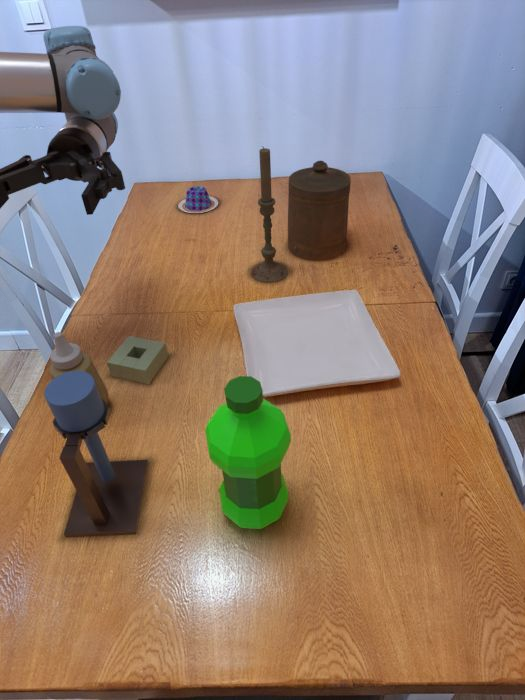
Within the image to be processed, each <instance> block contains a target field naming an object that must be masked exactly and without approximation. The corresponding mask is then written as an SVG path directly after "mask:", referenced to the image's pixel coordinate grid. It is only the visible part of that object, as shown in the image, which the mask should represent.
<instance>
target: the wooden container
mask: <svg viewBox="0 0 525 700" xmlns="http://www.w3.org/2000/svg"><path fill="white" fill-rule="evenodd" d="M351 183H352V178H351V175H349V174H348V173H347V172H345V171H344V170H342V169H339V168H335V167H329V165H328V164H327V162H325V161H324V160H316V161H315V162H313V164H312V166H310V167H304V168H301V169H298V170H296V171H293V172H292V173H291V174H290V175H289V177H288V194H287V195H288V199H287V200H288V201H287V249H288V251H289V253H291V254H292V256H294V257H295V258H298V259H301V260H305V261H310V262H323V261H324V262H325V261H330V260H334V259H336V258H338V257H340V256H341V255H343V254H344V253H345V251H346V247H347V235H348V226H349V225H348V224H349V205H350V203H349V202H350V193H351V186H352V185H351Z"/></svg>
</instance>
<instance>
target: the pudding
mask: <svg viewBox="0 0 525 700" xmlns="http://www.w3.org/2000/svg"><path fill="white" fill-rule="evenodd" d="M212 201H213V202H214V205H213V203H212ZM218 205H219V200H218V199H217V198H216V197H213V196H212V195H211V196H210V195H209V193H208V189H207V188H206V187H205V186H201V185H197V186H192V187H189V188H187V190H186V194H185V198H183V199H182V200H181V201H180V202H179V203H178V205H177V206H178V209H179V210H180V211H182V212H185V213H188V214H202V213H206V212H210V211H213V210H214V209H215V208H217V206H218ZM183 206H184V208H185V209H184V208H183ZM212 206H213V207H212ZM210 207H211V208H210ZM186 209H187V210H186ZM203 210H204V211H203Z"/></svg>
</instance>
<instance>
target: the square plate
mask: <svg viewBox="0 0 525 700" xmlns="http://www.w3.org/2000/svg"><path fill="white" fill-rule="evenodd" d="M232 309H233V314H234V318H235V322H236V325H237V329H238V333H239V338H240V342H241V346H242V347H241V348H242V351H243V359H244V366H245V374H246V375H245V376H251V377H253V378H255V379H256V380H258V381H259V382H260V384H261V387H262V392H263V398H264V397H265V398H267V397H274V396H282V395H287V394H288V395H289V394H293V393H299V392H305V391H314V390H321V389H328V388H336V387H345V386H346V387H347V386H355V385H366V384H372V383H379V382H385V381H390V380H394V379H399V378H400V377H402V372H401V370H400V368H399V366H398V365H397V362H396V361H395V359H394V357H393V355H392V353H391V351H390V350H389V348H388V347H387V345H386V343H385V340H384V339H383V337H382V335H381V333H380V332H379V330H378V328H377V326H376V324H375V322H374V320H373V318H372V316H371V314H370V312H369V311H368V308H367V306H366V304H365V302H364V300H363V298H362V296H361V294H360V293H359V291H358V290H357V289H343V290H335V291H334V290H333V291H326V292H325V291H324V292H316V293H315V292H314V293H308V294H299V295H292V296H283V297H275V298H269V299H261V300H254V301H247V302H240V303H235V304H234V305H233V307H232Z"/></svg>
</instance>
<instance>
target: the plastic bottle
mask: <svg viewBox="0 0 525 700" xmlns="http://www.w3.org/2000/svg"><path fill="white" fill-rule="evenodd" d="M224 397H225V402H226V403H223V404H221V405H219V406H218V407H217V409H216V410H215V412H214V413H213V415H212V416H211V418H210V419H209V421H208V422H207V424H206V426H205V429H204V433H205V439H206V444H207V445H206V446H207V450H208V456H209V459H210V461H211V462H212V464H213V465H214V466H216V467H217V468H218V469H220V470H221V471H222V472H221V473H222V477H223V480H222V482H221V484H220V486H219V487H218V494H219V499H220V505H221V506H220V507H221V511H222V514H223V515H225V516H226V517H227V518H228V519H229V520H230V521H232V522H233V524H235V525H237V526H238V527H239V528H240V529H251V530H252V529H253V530H262V529H264V528H266V527H267V526H269V525H271V524H273V523H275V522H276V521H278V520H279V519H281V517H282V515H283V513H284V510H285V508H286V506H287V504H288V501H289V500H290V499H289V498H290V495H289V489H288V487H287V483H286V480H285V477H284V475H283V474H282V462H283V460H284V459H285V456H286V454H287V452H288V451H289V448H290V445H291V442H292V434H291V432H290V428H289V425H288V422H287V419H286V416H285V413H284V412H283V411H282V409H281V408H279V407H278V406H276V405H275V404H273V403H271V402H270V401H269V400H266V399H265V398H264V397H263V392H262V387H261V384H260V382H259V381H258V380H256V379H255V378H253V377H251V376H247V375H239V376H236V377H234V378H232V379H230V380H229V381H228V382H227V384H226V385H225V387H224Z"/></svg>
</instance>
